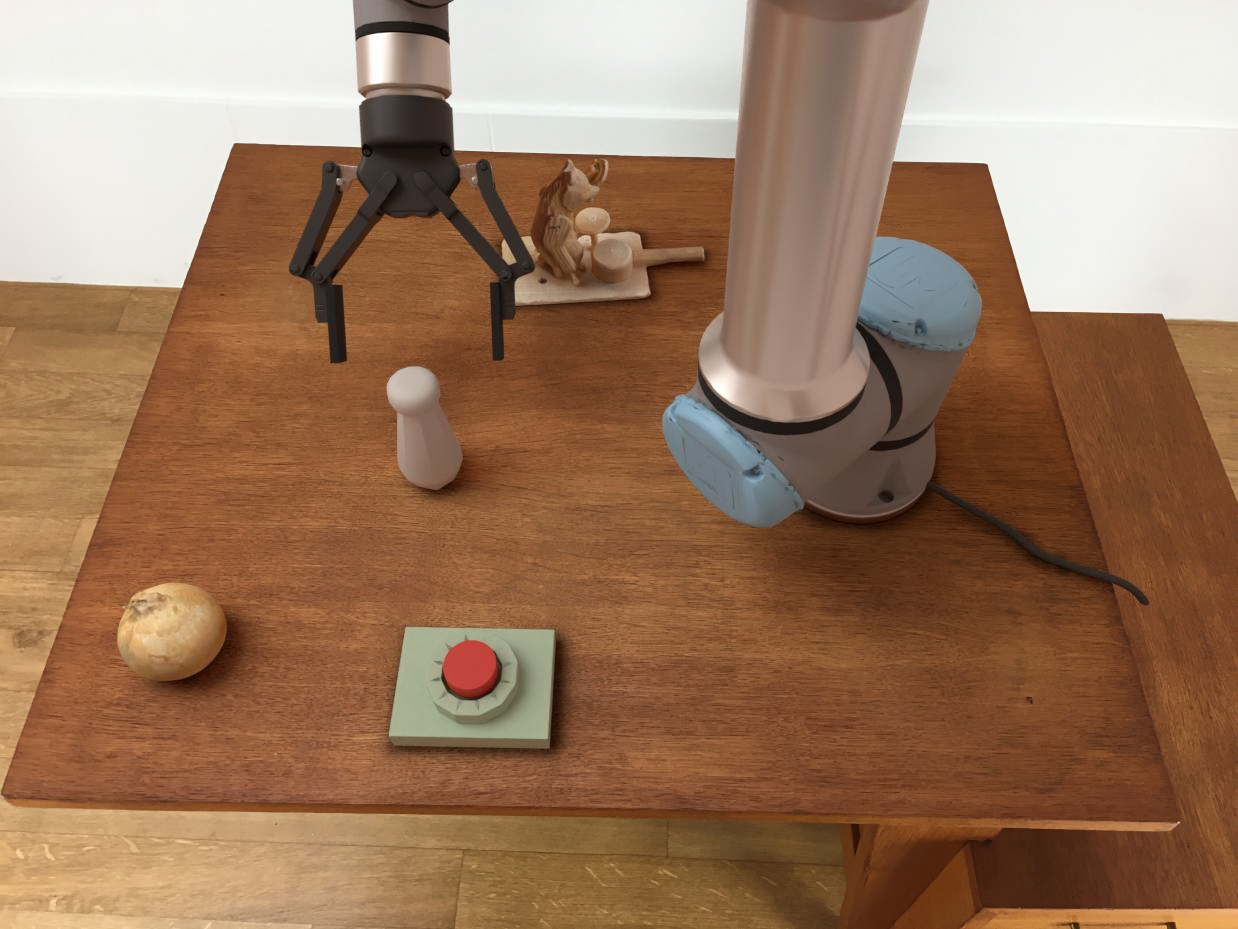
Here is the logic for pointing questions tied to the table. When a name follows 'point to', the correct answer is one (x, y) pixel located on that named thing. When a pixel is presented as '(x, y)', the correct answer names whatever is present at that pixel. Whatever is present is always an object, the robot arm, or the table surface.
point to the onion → (171, 631)
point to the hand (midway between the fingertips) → (418, 361)
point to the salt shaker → (423, 429)
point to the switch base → (490, 720)
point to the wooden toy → (584, 247)
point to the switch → (470, 669)
